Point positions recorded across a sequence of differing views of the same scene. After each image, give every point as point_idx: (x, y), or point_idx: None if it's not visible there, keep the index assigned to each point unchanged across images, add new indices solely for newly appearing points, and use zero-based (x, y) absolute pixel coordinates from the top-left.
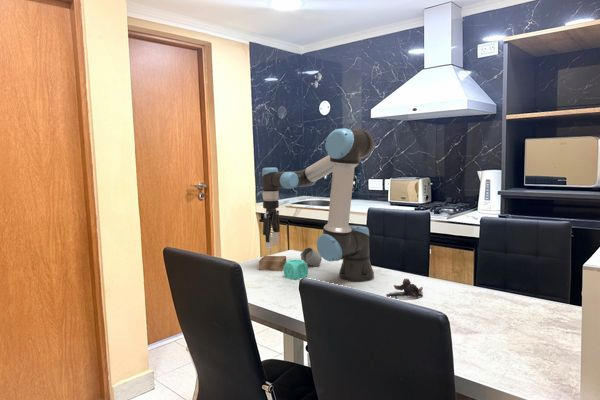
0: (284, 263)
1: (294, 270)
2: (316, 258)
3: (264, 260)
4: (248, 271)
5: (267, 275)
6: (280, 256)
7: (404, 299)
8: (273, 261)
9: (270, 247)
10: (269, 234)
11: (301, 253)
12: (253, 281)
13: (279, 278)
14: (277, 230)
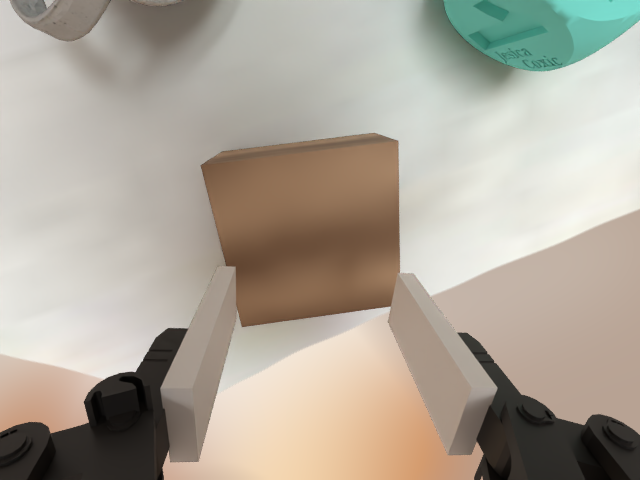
0: (283, 149)
1: None
2: None
3: (378, 278)
4: (355, 326)
5: (427, 205)
6: (229, 208)
7: None
8: (398, 207)
9: (418, 286)
10: (548, 411)
11: (83, 8)
12: (540, 235)
13: (492, 110)
14: (145, 428)
